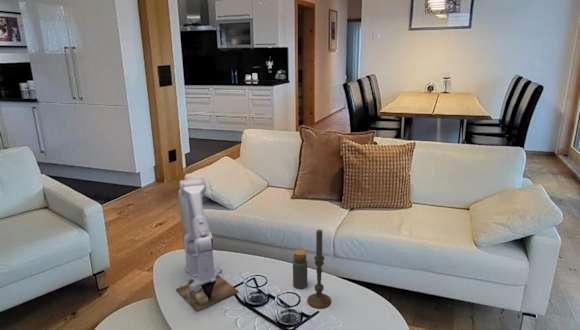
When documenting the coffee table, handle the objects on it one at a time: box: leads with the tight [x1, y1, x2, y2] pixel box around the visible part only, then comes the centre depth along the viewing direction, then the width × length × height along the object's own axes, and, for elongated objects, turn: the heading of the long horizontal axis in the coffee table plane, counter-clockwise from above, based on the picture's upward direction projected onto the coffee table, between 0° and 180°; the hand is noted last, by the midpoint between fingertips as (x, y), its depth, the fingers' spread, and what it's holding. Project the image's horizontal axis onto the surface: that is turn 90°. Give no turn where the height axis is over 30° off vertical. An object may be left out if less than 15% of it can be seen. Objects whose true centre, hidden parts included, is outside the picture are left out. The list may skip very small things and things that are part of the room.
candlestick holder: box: [306, 229, 332, 310], centre depth 144 cm, size 9×9×30 cm
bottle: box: [292, 248, 308, 290], centre depth 157 cm, size 6×6×15 cm
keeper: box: [186, 286, 203, 300], centre depth 150 cm, size 3×6×4 cm, turn 125°
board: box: [175, 274, 239, 313], centre depth 155 cm, size 18×18×1 cm
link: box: [187, 278, 208, 305], centre depth 151 cm, size 14×3×3 cm, turn 34°
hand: (208, 297), depth 149 cm, fingers closed
